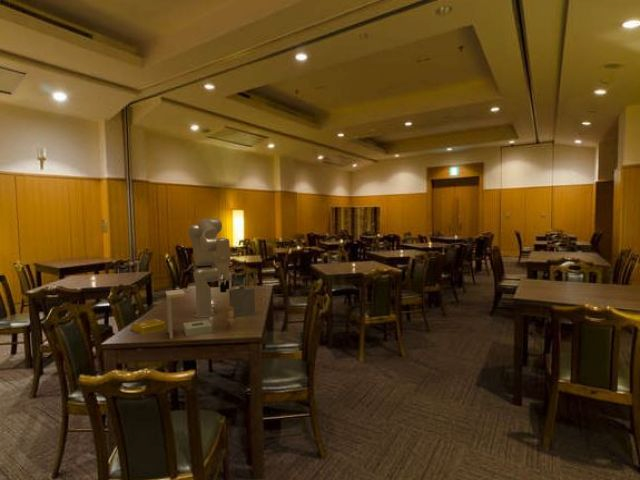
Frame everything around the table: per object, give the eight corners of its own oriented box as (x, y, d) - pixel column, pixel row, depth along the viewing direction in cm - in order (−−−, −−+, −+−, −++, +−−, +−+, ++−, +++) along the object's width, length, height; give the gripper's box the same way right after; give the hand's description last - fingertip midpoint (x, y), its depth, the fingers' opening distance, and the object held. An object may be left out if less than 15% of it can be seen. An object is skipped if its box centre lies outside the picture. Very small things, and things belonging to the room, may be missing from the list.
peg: (226, 327, 223) (225, 307, 222) (233, 326, 224) (232, 306, 224) (228, 329, 219) (227, 308, 218) (235, 328, 221) (234, 307, 220)
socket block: (167, 332, 216) (165, 291, 215) (208, 326, 226) (206, 287, 225) (169, 339, 204) (167, 295, 202) (212, 332, 213) (210, 290, 212)
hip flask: (254, 314, 253) (253, 284, 252) (255, 315, 249) (254, 285, 248) (230, 316, 249) (228, 285, 248) (230, 317, 245) (228, 286, 244)
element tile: (167, 329, 224) (166, 321, 224) (141, 335, 213) (140, 327, 212) (155, 325, 234) (154, 317, 234) (129, 330, 223) (129, 322, 222)
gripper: (219, 259, 224) (220, 288, 225) (213, 262, 207) (215, 293, 207) (232, 258, 224) (233, 287, 225) (227, 261, 207) (229, 293, 208)
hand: (224, 290), depth 216 cm, fingers open, 9 cm apart
